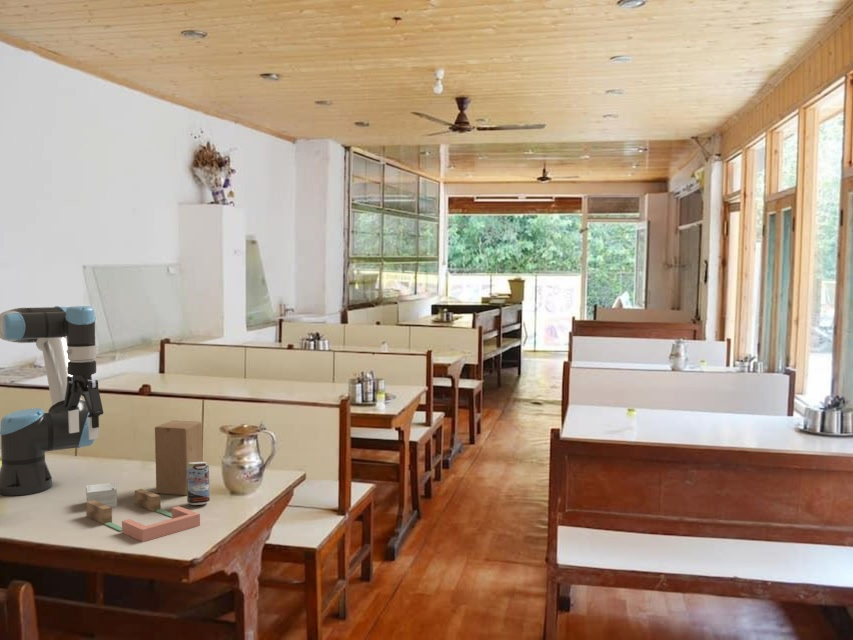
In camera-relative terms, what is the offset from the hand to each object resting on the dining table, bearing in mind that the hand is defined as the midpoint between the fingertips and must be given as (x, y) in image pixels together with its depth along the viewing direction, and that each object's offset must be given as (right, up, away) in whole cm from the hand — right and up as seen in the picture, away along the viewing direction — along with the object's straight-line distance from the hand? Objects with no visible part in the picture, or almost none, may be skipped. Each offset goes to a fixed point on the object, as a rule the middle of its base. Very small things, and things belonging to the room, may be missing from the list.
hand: (83, 435), depth 227 cm
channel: (+17, -19, -13) cm, 28 cm away
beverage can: (+34, -19, -5) cm, 39 cm away
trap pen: (+30, -20, -25) cm, 44 cm away
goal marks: (+23, -20, -19) cm, 36 cm away
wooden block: (+25, -18, +9) cm, 32 cm away
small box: (+7, -19, -5) cm, 21 cm away
